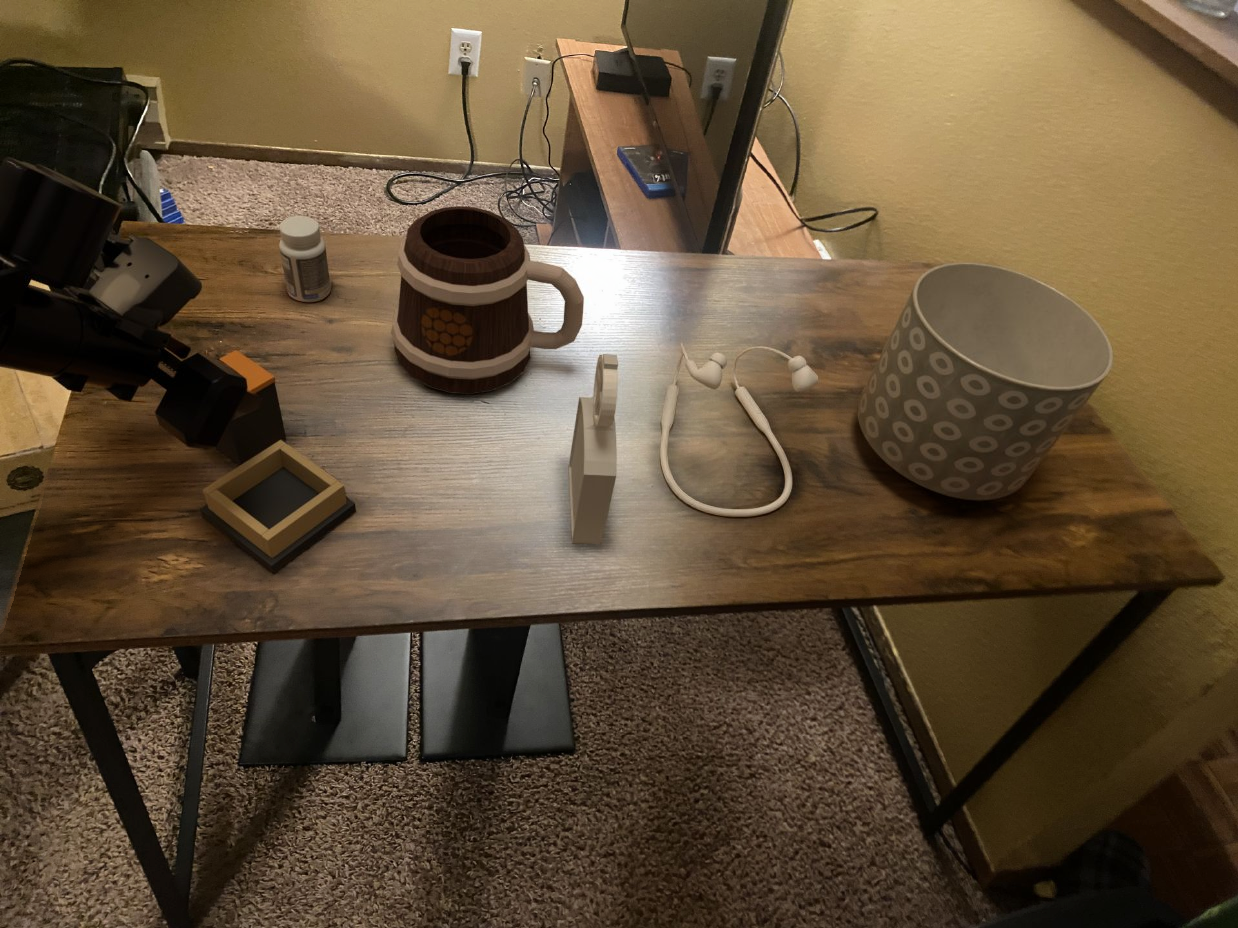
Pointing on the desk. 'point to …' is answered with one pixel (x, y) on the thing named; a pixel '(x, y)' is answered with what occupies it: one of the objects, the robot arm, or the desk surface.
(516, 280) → the mug
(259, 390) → the orange rectangular block
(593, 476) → the gravestone
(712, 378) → the earphone
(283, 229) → the pill bottle
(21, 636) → the desk surface
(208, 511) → the base pad
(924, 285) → the planter
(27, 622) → the desk surface
